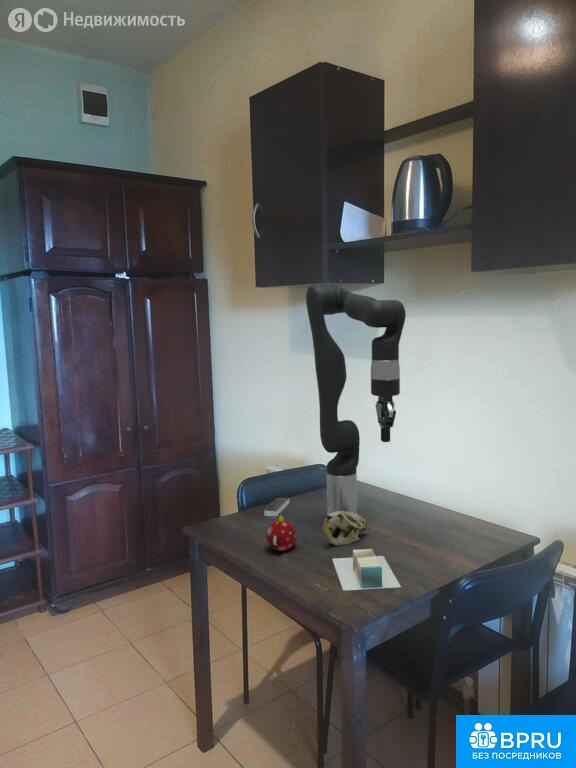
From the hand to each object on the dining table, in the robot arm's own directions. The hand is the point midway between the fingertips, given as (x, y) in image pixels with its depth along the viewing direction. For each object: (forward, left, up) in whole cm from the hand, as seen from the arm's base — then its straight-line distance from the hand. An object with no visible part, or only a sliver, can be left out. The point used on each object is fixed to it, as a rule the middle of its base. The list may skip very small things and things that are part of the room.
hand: (385, 441), depth 153 cm
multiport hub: (-42, -27, -33) cm, 60 cm away
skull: (-11, -10, -32) cm, 36 cm away
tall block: (+8, -8, -29) cm, 31 cm away
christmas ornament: (-8, -28, -32) cm, 43 cm away
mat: (+10, -8, -32) cm, 34 cm away
